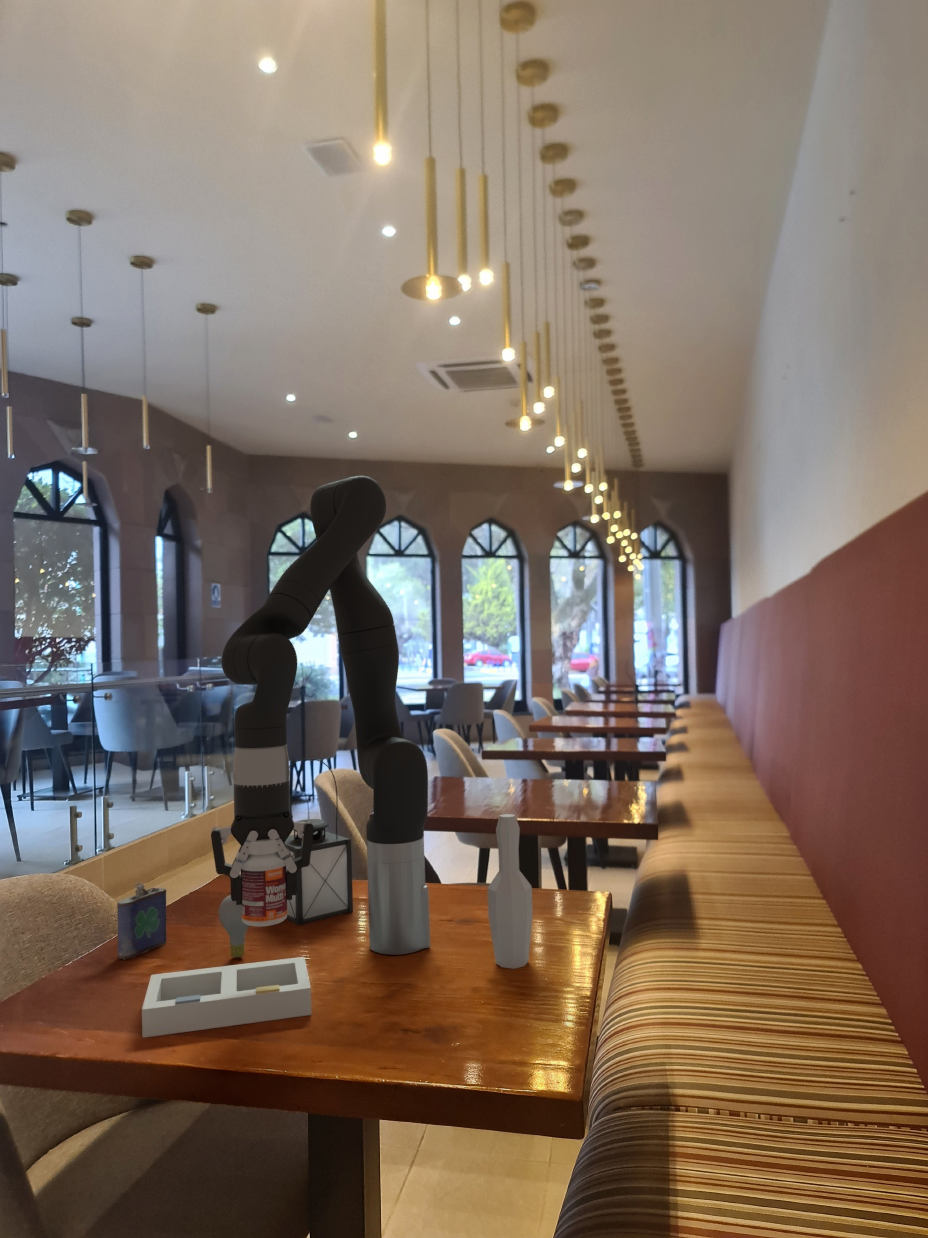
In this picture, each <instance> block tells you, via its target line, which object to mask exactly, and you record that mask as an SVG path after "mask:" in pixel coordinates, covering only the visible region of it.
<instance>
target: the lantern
mask: <svg viewBox="0 0 928 1238" xmlns="http://www.w3.org/2000/svg"><path fill="white" fill-rule="evenodd" d="M305 760H314V761H317V762H320V763H322V764H323V765H324V766H325V767H327V768H328V770H329V771H330V772H331V775H332V778H333V780H334V787H335V793H336V795H335V796H336V798H335V799H336V800H335V801H336V804H335V805H336V814H335V815H336V816H335V817H336V818H335V833H332V832H329V831H326V828H328V827H329V826H330V824H329V823H328V822H326V821H325V820H323V819H320V818H319V819H318V818H307V819H301V820H296V822H305V821H306V820H310V821H311V822H312V824H313V837H312V847H311V857H310V864H309V866H307V867H303V868H301V869H299V870H298V871H297V893H296V895H292V900H287V917H286V919H285V920H288V921H289V922H291V923H294V924H295V926H302V925H305V924H309V923H313V922H319V921H321V920H326V919H329V918H333V917H338V916H342V915H345V914H351V913H354V902H353V900H354V899H353V897H354V896H353V892H354V891H353V865H352V864H353V863H352V861H353V860H352V859H353V858H352V857H353V856H352V855H353V854H352V838H348V837H344V836H342V835H338V807H339V806H338V805H339V804H338V803H339V801H338V788H337V787H338V786H337V781H336V777H335V775H334V773H333V771H332V769H331V768H330V767H329V765H327V764H326V763H325V762H323V761H322V760H320V759H318V758H310V757H307V758H305V757H304V758H301V759H298V760H296V761H294V762H292V763H291V764H289V769H290V768H291V767H292V766H293V765H294V764H296V763H298V762H300V761H305ZM285 844H286V846H287V847H288V849H289V851H290V853H291V855H292V857H293V859H296V858H298V857H300V854H301V844H302V838H300V837H299V836H298V834H297V831H296V830H294V829H293V834H290V835H289V837H288V838H287V840H286V841H285ZM286 870H287V867H286Z"/></svg>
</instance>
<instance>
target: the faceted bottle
mask: <svg viewBox="0 0 928 1238" xmlns="http://www.w3.org/2000/svg"><path fill="white" fill-rule="evenodd" d="M520 831H521V829H520V825H519V823H518V820H517V817H516V815H515V814H511V813H504V814H500V815H498V820H497V825H496V827H495V835H496V840H497V841H496V843H497V850H498V851H497V852H498V872H497V873H496V875H495V876H494V878H492V881H491V882H490V883H489V885H488V886H487V909H488V913H487V914H488V915H487V917H488V922H489V928H490V935H491V942H492V947H493V953H494V954H493V956H494V958H495V959H494V961H495V964H496V965H498V966H499V967H501V968H507V969H513V970H514V969H518V968H523V967H525V966H526V965H527V964H528V963H529V957H530V948H531V947H530V946H531V937H532V936H531V935H532V927H533V926H532V925H533V887H532V885H531V883H530V882H529V881H528V879H527V878H526V877H525V876H524V874H523V873H522V872H521V870H520V854H519V848H520V847H519V845H520Z"/></svg>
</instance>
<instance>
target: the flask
mask: <svg viewBox="0 0 928 1238" xmlns="http://www.w3.org/2000/svg"><path fill="white" fill-rule="evenodd" d="M135 887H136V889H135V891H134V892H135V895H134V894H133V895H132V896H129V897H126V898H124V899H122V900H119V901H118V902H117V903H116V905H117V906H116V907H117V958H118V959H119V960H123V961H125V960H127V959H133V958H135V957H136V956H139V955H142V954H145V953H148V952H149V951H150V950H154V949H155V948H158V947H159V948H160V947H161V946H164V945H166V944H167V889H166V888H162V887H154V886H153V887H151V888H148V889H147V888H145V887H146V886H145V884H144V883H141V882H138V883H136V884H135V885H133V888H135Z"/></svg>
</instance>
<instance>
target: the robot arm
mask: <svg viewBox="0 0 928 1238" xmlns="http://www.w3.org/2000/svg"><path fill="white" fill-rule="evenodd" d="M309 504H310V507H309V508H310V518H311V522H312V527H313V531H314V534H315V538H316V541H315V542H314V543H313V544H312V545H311V546H310V547H308V548H307V549H305V551H304V552H303V553H302V554H300V556H298V557H297V558H296V559H295V560H294V561H293V562H292V563H291V564H290V565H289V566H288V567H287V569H286V570H285V571H284V572H283V573H282V575H281V576H280V577H279V579H278V580H277V582H276V584H274V586H273V588H272V589H271V591H270V593H269V595H268V596H267V597H266V599H265V602H264V603H263V604H262V605H261V606H260V607H259V608H258V609H257V610H256V611H254V612H253V613H252V614H251V615H250V616H249V617H248V618H247V619H246V620H245V621H244V622H243V623H242V624H241V625H239V627H238V628H237V629H236V630H235V631H234V632H233V633H232V634H231V636H230V637H229V638H228V639H227V642H226V643H225V646H224V648H223V651H222V656H221V669H222V671H223V673H224V675H225V676H226V678H227V679H228V680H230V681H231V682H233V683H235V684H237V685H247V686H249V685H250V686H252V685H253V686H254V685H256V688H255V693H254V696H253V699H252V701H250V702H246V703H243V704H241V705H239V706H237V708H236V710H235V712H234V722H233V725H234V756H233V762H232V763H233V764H232V765H233V766H232V767H233V768H232V769H233V770H232V771H233V772H232V780H233V816H234V817H233V821H232V823H231V826H225V827H217V826H215V827H213V828H212V829H211V832H210V837H211V838H210V839H211V840H210V841H211V846H212V852H213V859H214V864H215V865H214V866H215V872H216V874H217V875H219V876H220V875H224V876H227V877H228V878H229V880H230V881H229V882H230V895H231V899H232V901H236V905H241V869H242V867H243V864H244V863H245V862H246V859H247V857H248V855H249V843H250V842H253V841H256V840H264V839H271V840H277V847H278V854H279V855H280V857H281V859H282V860H284V862H285V866H286V867H287V870H286V871H287V872H286V876H287V877H286V878H287V900H292V895H296V893H297V871H298V870H299V869H301V868H303V867H307V866H309V864H310V857H311V847H312V837H313V824H312V822H311V821H310V820H306V819H305V820H306V821H305V822H297V821H294V820H293V818H292V816H291V796H290V795H291V791H290V790H291V788H290V787H291V785H290V784H291V783H290V776H291V771H290V768H289V766H290V757H289V753H288V742H287V741H288V738H287V737H288V736H287V714H288V709H289V706H290V702H291V697H292V694H293V693H292V692H293V691H294V690H293V689H294V685H295V681H296V676H297V671H298V655H297V651H296V649H295V646H294V644H293V643H292V641H291V639H294V638H297V637H299V636H301V635H303V633H304V632H305V631H306V629H307V628H308V626H309V624H310V623H311V622H312V619H313V617H314V616H315V614H316V613H317V611H318V609H319V607H320V606H321V604H322V602H323V601H324V600H325V599H324V598H325V597H326V596H327V594H328V592H330V597H331V601H332V602H331V604H332V607H333V612H334V617H335V626H336V632H337V633H336V634H337V637H338V638H337V639H338V642H339V643H338V644H339V648H340V654H341V658H342V663H343V668H344V671H345V672H344V673H345V678H346V683H347V687H348V689H347V690H348V692H349V696H350V701H351V706H352V709H353V710H352V711H353V717H354V726H355V740H356V752H357V754H356V756H357V764H358V771H359V774H360V776H361V779H362V780H363V782H364V783H365V785H367V786H368V787H369V788H370V789H372V790H373V791H372V792H373V793H372V794H373V798H372V801H373V803H372V804H373V806H372V809H373V810H372V816H371V818H369V820H367V822H366V824H365V825H366V828H365V832H366V857H367V858H366V861H367V862H366V866H367V867H366V868H367V869H366V870H367V897H368V899H367V900H368V901H367V903H368V904H367V905H368V937H369V939H368V940H369V949H370V950H372V951H373V952H375V953H376V954H377V953H378V954H382V955H389V956H392V955H396V956H397V955H407V954H412V953H415V952H418V951H420V950H424V949H428V948H431V932H430V931H431V930H430V926H431V925H430V899H429V898H430V895H429V886H428V885H427V884H426V867H425V864H426V863H425V862H426V861H425V839H424V838H425V824H426V822H427V818H428V812H429V774H428V773H429V770H428V765H427V764H428V763H427V759H426V756H425V754H424V751H423V749H421V747H420V746H419V745H418V744H417V743H414V742H413V741H411V740H408V739H405V738H404V736H403V734H402V730H401V726H400V722H399V717H398V712H397V705H396V692H397V683H398V682H397V681H398V673H399V667H400V666H399V665H400V661H399V660H400V651H399V644H398V638H397V632H396V626H395V622H394V617H393V613H392V611H391V609H390V607H389V605H388V604H387V602H386V601H385V599H384V598H383V597H382V595H381V593H380V592H379V591H378V590H377V588H376V587H375V586H374V585H373V584H372V583H371V581H370V579H369V577H367V575H366V574H365V572H364V570H363V568H362V565H361V563H360V559H359V556H358V552H359V551H360V550H361V549H362V547H363V546H364V545H365V544H366V542H368V541H369V539H370V538H371V537H372V536H373V535H374V533H375V532H376V531H377V530H378V529H379V527H380V526H381V524H382V523H383V521H384V519H385V516H386V512H387V500H386V495H385V494H384V490H383V489H382V487H381V486H380V484H379V483H378V481H376V480H375V479H373V478H372V477H369V476H366V475H356V476H350V477H346V478H342V479H339V480H337V481H332V482H329V483H326V484H323V485H321V486H319V487H317V488H316V489H315V491H314V492H313V494H312V495H311V499H310V503H309ZM293 829H294V830H296V831H297V832H296V834H298V836H299V837H300V838H302V844H301V854H300V857H298V858H296V859H293V857H292V855H291V853H290V851H289V849H288V847H287V846H286V844H285V841H286V840H287V838H288V837H289V836H290V835H292V834H291V833H293V832H294V830H293ZM230 835H232V837H233V838H234V839H235V840H236V841H237V843H238V844H239V845H240V846H239V849H238V850H237V852H236V855H235V858H234V860H233V862H232V863H227V862H226V858H225V851H224V845H225V844H227V842H228V839H229V836H230ZM278 844H280V845H278ZM247 846H248V848H247Z"/></svg>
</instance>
